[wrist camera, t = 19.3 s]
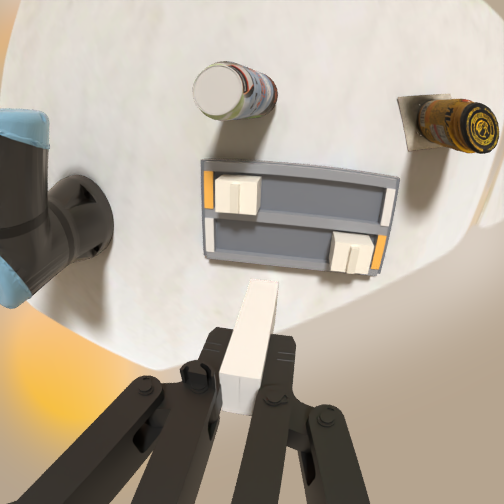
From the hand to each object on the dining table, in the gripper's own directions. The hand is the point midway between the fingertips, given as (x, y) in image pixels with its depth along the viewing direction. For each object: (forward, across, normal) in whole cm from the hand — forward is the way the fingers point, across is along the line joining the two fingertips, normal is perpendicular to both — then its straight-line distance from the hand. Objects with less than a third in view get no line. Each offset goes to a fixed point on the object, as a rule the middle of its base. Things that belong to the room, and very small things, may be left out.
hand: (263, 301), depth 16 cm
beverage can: (+25, -6, +12) cm, 28 cm away
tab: (+23, +9, -6) cm, 25 cm away
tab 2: (+23, -6, 0) cm, 24 cm away
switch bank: (+24, +2, -3) cm, 25 cm away
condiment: (+25, +18, +12) cm, 33 cm away
